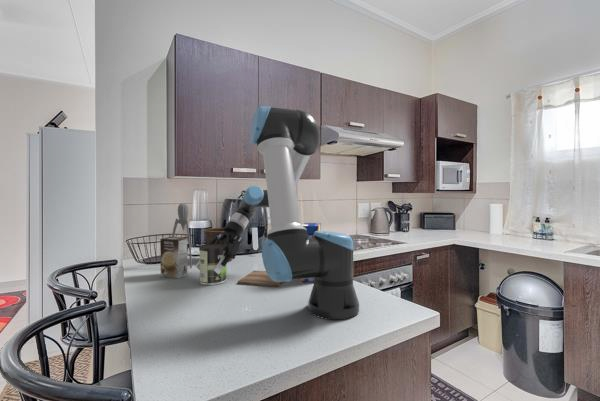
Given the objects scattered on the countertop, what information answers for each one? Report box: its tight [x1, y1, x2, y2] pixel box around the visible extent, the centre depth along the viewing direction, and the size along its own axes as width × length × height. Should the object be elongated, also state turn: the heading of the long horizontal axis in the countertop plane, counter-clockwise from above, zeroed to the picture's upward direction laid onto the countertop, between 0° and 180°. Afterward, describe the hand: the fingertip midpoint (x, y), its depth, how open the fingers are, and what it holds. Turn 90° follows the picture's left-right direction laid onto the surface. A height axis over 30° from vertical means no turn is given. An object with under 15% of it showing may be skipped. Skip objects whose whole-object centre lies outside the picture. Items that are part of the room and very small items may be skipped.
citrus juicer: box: [171, 202, 193, 269], centre depth 141 cm, size 11×10×30 cm
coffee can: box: [198, 244, 227, 286], centre depth 118 cm, size 10×10×14 cm
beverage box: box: [300, 222, 322, 283], centre depth 121 cm, size 7×11×22 cm, turn 171°
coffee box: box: [159, 236, 188, 279], centre depth 125 cm, size 9×6×16 cm
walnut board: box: [237, 270, 283, 288], centre depth 120 cm, size 16×16×1 cm
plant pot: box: [203, 227, 233, 263], centre depth 153 cm, size 16×16×16 cm
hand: (206, 270), depth 115 cm, fingers open, 10 cm apart
